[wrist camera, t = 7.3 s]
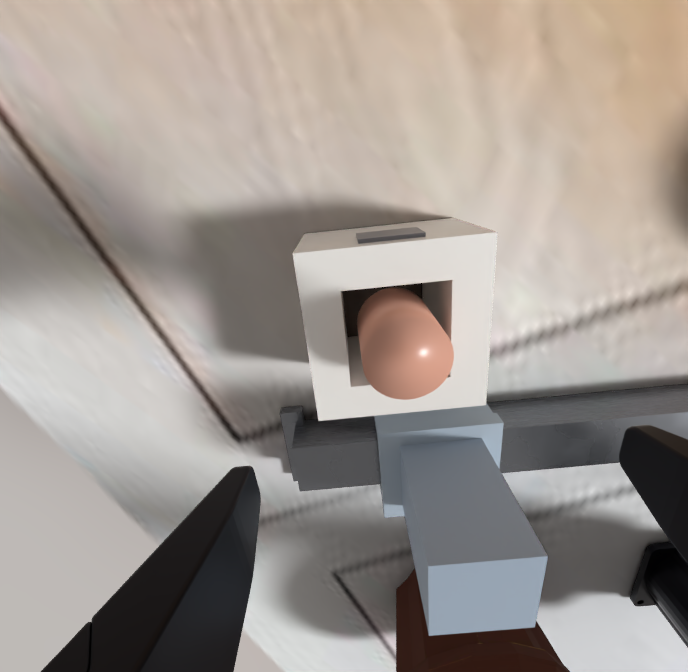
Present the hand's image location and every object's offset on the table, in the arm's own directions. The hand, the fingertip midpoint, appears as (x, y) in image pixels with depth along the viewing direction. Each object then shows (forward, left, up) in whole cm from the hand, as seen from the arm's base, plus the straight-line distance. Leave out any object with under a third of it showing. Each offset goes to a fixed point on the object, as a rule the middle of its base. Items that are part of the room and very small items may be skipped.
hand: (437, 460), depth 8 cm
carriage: (-8, -2, -11) cm, 14 cm away
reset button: (0, 0, -8) cm, 8 cm away
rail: (-8, -7, -11) cm, 16 cm away
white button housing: (0, 0, -11) cm, 11 cm away
